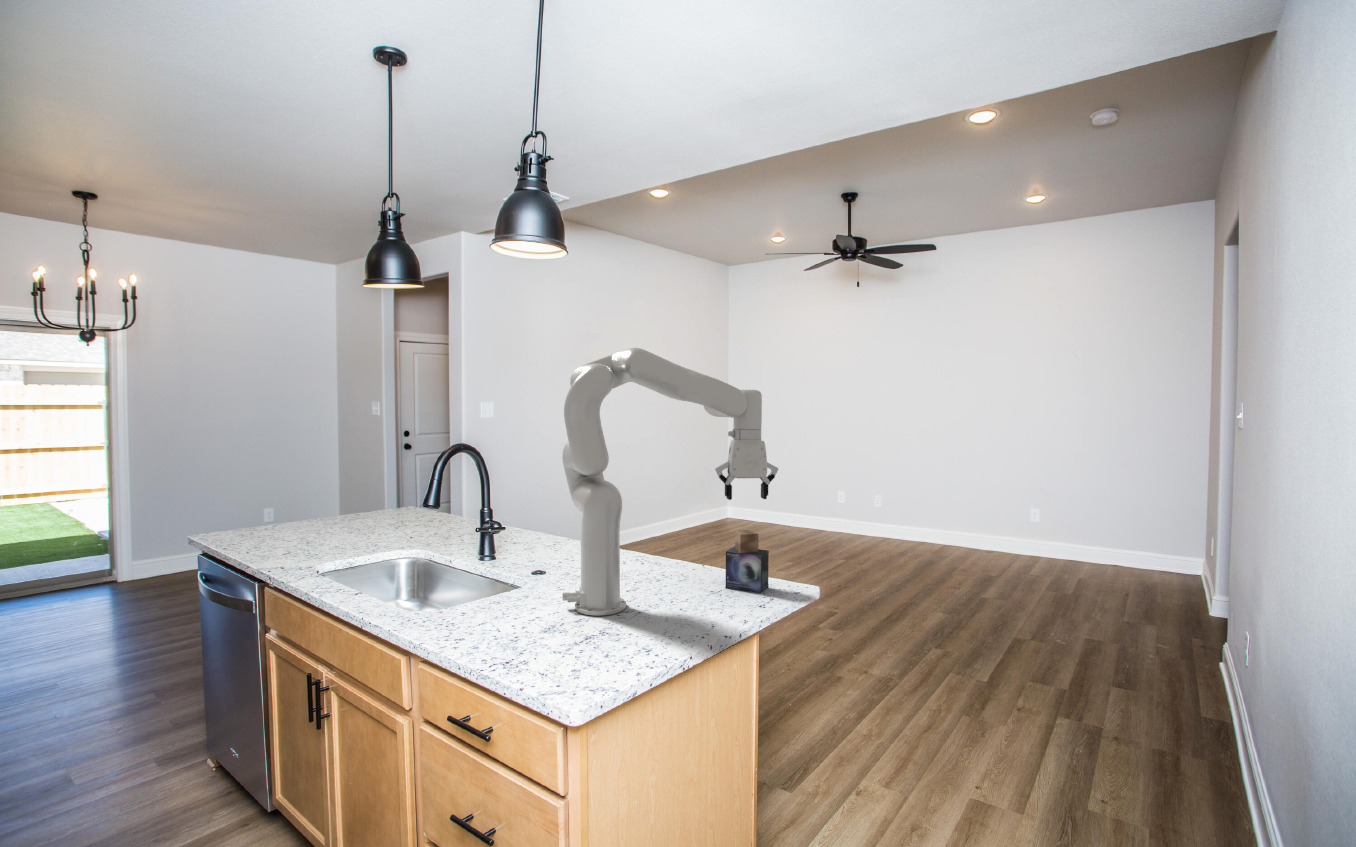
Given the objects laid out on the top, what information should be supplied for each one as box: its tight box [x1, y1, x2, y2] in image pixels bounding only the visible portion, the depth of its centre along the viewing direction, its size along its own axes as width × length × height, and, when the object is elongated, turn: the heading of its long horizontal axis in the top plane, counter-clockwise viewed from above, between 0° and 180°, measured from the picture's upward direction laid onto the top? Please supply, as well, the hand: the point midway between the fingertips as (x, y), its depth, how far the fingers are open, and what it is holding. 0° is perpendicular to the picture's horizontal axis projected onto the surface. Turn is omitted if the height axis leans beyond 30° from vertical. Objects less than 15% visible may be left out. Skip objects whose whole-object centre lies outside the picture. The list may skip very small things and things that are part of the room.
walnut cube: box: [734, 529, 759, 553], centre depth 177 cm, size 5×5×5 cm
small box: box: [725, 546, 770, 594], centre depth 178 cm, size 11×6×10 cm, turn 62°
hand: (746, 498), depth 177 cm, fingers open, 9 cm apart
